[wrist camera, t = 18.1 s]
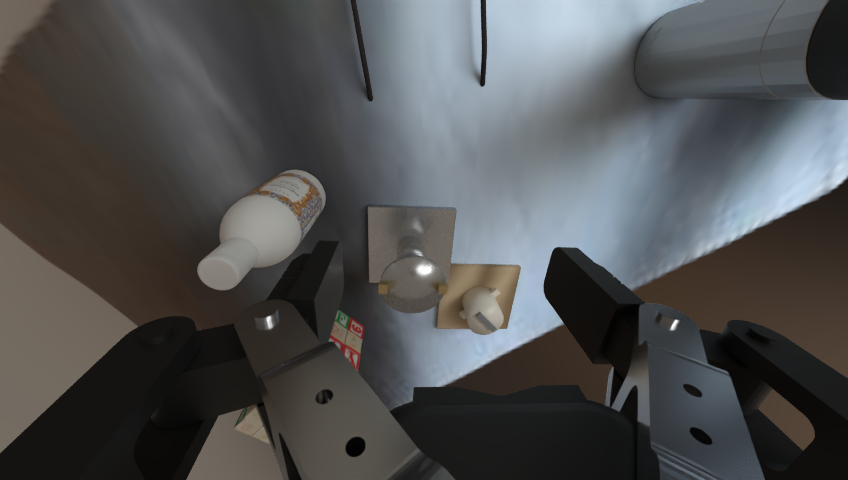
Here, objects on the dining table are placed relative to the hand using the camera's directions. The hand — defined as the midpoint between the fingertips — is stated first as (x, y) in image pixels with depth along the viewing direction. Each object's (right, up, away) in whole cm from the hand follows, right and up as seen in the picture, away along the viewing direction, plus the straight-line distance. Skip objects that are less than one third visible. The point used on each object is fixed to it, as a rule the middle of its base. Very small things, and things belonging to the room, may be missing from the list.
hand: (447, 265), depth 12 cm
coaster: (+8, -8, +38) cm, 39 cm away
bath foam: (-17, +7, +29) cm, 35 cm away
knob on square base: (-3, 0, +33) cm, 33 cm away
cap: (+8, -9, +37) cm, 39 cm away
